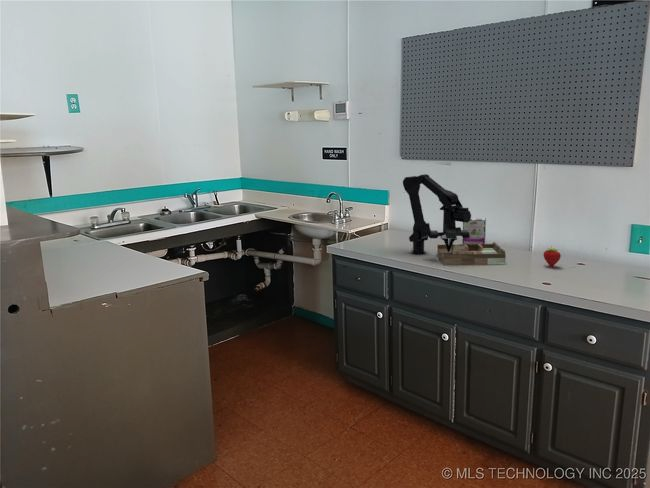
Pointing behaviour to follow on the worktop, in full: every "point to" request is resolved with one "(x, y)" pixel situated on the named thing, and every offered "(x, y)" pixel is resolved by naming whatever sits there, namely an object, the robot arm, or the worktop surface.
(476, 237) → the candy bar box
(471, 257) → the brown wooden tray
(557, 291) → the worktop surface
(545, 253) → the strawberry
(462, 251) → the birch block
